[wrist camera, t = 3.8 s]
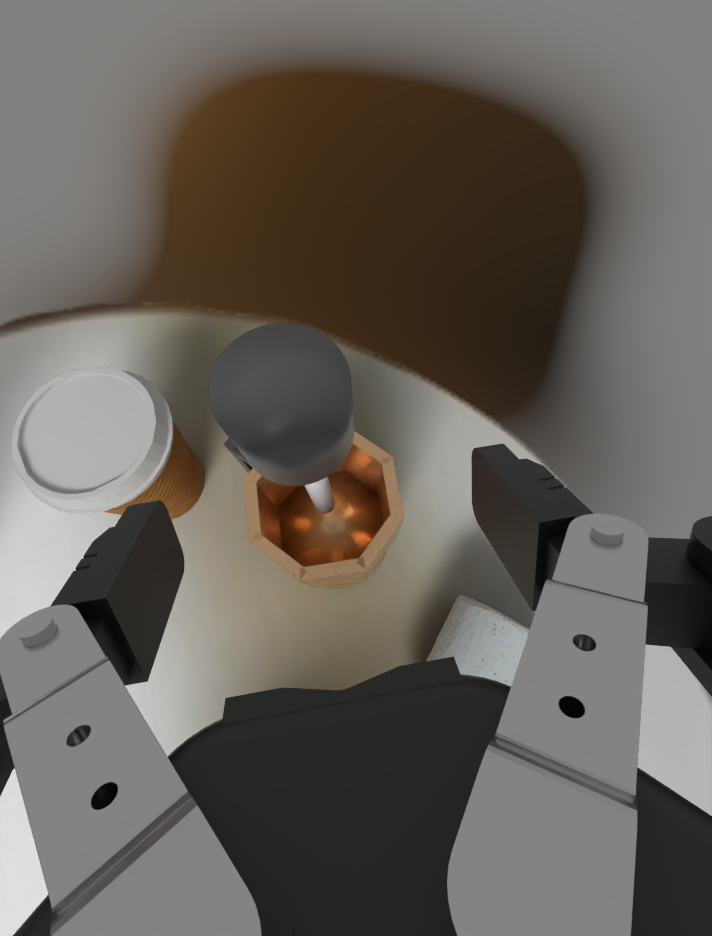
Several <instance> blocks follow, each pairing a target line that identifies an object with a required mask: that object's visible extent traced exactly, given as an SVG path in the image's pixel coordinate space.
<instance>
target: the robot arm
mask: <svg viewBox="0 0 712 936" xmlns="http://www.w3.org/2000/svg"><path fill="white" fill-rule="evenodd" d="M472 505H473V511H474V515H475V518H476V520H477V522H478V524H479V526H480V527H481V529H482V530H483V532H484V534H485V535H486V537H487V539H488V540H489V542H490V543H491V545H492V547H493V548H494V550H495V551H496V553H497V555H498V556H499V558H500V559H501V561H502V563H503V564H504V566H505V567H506V569H507V571H508V572H509V574H510V575H511V577H512V579H513V580H514V582H515V583H516V585H517V587H518V588H519V590H520V591H521V593H522V595H523V596H524V598H525V599H526V601H527V603H528V604H529V606H530V607H531V609H532V611H534V610H536V612H535V615H534V618H533V621H532V624H531V627H530V630H529V633H528V637H527V640H526V643H525V646H524V649H523V652H522V655H521V658H520V661H519V664H518V667H517V670H516V673H515V676H514V680H513V683H512V686H508V685H506V684H503V683H501V682H498V681H495V680H491V679H487V678H484V677H478V676H472V675H462V674H460V672H459V669H458V666H457V664H456V661H455V658H454V656H453V657H448V658H442V659H437V660H432V661H426V662H421V663H415V664H410V665H404V666H399V667H396V668H394V669H392V670H389V671H387V672H385V673H383V674H380V675H378V676H376V677H373V678H371V679H369V680H366V681H364V682H362V683H359V684H357V685H355V686H352V687H350V688H348V689H345V690H317V689H298V688H278V689H273V690H267V691H262V692H257V693H251V694H246V695H240V696H235V697H229V698H226V700H225V706H224V713H223V719H221V720H219V721H217V722H215V723H213V724H211V725H209V726H207V727H206V728H204V729H202V730H201V731H199V732H198V733H196V734H195V735H193V736H192V737H190V738H189V739H187V740H186V741H185V742H184V743H183V744H181V745H180V746H179V747H178V748H176V749H175V750H174V751H173V752H172V753H171V754H170V755H169V756H168V757H167V755H166V754H165V752H164V750H163V749H162V747H161V745H160V744H159V742H158V740H157V739H156V737H155V735H154V734H153V732H152V730H151V729H150V727H149V725H148V724H147V722H146V720H145V719H144V717H143V715H142V714H141V712H140V710H139V709H138V707H137V705H136V704H135V702H134V700H133V699H132V697H131V695H130V694H129V692H128V690H127V689H126V687H125V685H130V684H136V683H141V682H147V681H148V679H149V676H150V673H151V670H152V667H153V664H154V661H155V658H156V655H157V652H158V649H159V646H160V642H161V639H162V636H163V633H164V630H165V627H166V624H167V621H168V618H169V615H170V612H171V609H172V606H173V603H174V600H175V597H176V594H177V591H178V588H179V585H180V582H181V579H182V576H183V573H184V556H183V551H182V548H181V545H180V543H179V540H178V537H177V534H176V532H175V529H174V526H173V524H172V521H171V518H170V516H169V513H168V510H167V508H166V506H165V504H164V503H163V502H162V501H161V500H157V501H151V502H145V503H139V504H133V505H129V506H128V507H127V508H126V510H125V511H124V513H123V514H122V516H121V518H120V519H119V521H118V523H117V524H116V526H115V527H111V528H109V529H108V530H107V531H105V532H104V533H103V534H102V535H100V536H99V537H98V538H97V539H96V540H94V541H93V543H92V544H91V546H90V547H89V549H88V550H87V552H86V553H85V555H84V559H81V561H80V562H79V564H78V565H77V567H76V571H73V573H72V574H71V576H70V577H69V579H68V580H67V582H66V583H65V585H64V586H63V588H62V590H61V591H60V593H59V594H58V596H57V597H56V599H55V600H54V602H53V603H52V605H51V606H50V607H47V608H44V609H41V610H39V611H37V612H34V613H32V614H30V615H29V616H27V617H25V618H23V619H22V620H20V621H19V622H17V623H16V624H15V625H13V626H12V627H11V628H10V629H9V630H8V631H7V632H6V633H5V634H4V635H3V636H2V637H1V639H0V796H1V793H2V791H3V789H4V787H5V785H6V783H7V781H8V779H9V777H10V774H11V772H12V770H13V769H14V768H15V770H16V774H17V778H18V782H19V785H20V789H21V793H22V797H23V800H24V804H25V808H26V812H27V815H28V819H29V823H30V827H31V830H32V834H33V838H34V842H35V845H36V849H37V853H38V857H39V860H40V864H41V868H42V872H43V875H44V879H45V883H46V887H47V890H48V896H47V897H46V898H45V899H44V900H43V901H42V902H41V904H40V905H39V906H38V907H37V908H36V909H35V911H34V912H33V913H32V914H31V915H30V916H29V918H28V919H27V920H26V921H25V922H24V923H23V925H22V926H21V927H20V928H19V929H18V930H17V932H16V933H15V934H14V935H13V936H712V816H711V815H709V814H708V813H706V812H705V811H703V810H701V809H700V808H698V807H697V806H695V805H694V804H692V803H691V802H689V801H688V800H686V799H685V798H683V797H682V796H680V795H679V794H677V793H676V792H674V791H673V790H671V789H670V788H668V787H667V786H665V785H664V784H662V783H661V782H659V781H657V780H656V779H654V778H653V777H651V776H650V775H648V774H647V773H645V772H644V771H642V770H641V769H639V768H638V767H637V764H638V749H639V734H640V719H641V704H642V689H643V674H644V659H645V644H647V645H658V646H669V647H672V649H673V650H674V651H675V652H676V653H677V655H678V656H679V657H680V658H681V660H682V661H683V662H684V663H685V664H686V666H687V667H688V668H689V669H690V671H691V672H692V673H693V674H694V675H695V677H696V678H697V679H698V680H699V682H700V683H701V684H702V685H703V686H704V688H705V689H706V690H707V691H708V692H709V694H710V695H711V696H712V516H710V517H705V518H702V519H700V520H698V521H696V522H695V524H694V525H693V528H692V532H691V535H690V539H673V538H672V539H671V538H649V537H648V536H647V534H646V533H645V531H644V530H643V529H642V528H641V527H639V526H638V525H637V524H635V523H633V522H631V521H629V520H627V519H624V518H621V517H618V516H614V515H608V514H593V513H592V512H591V511H590V510H589V509H588V508H587V507H586V506H585V505H584V504H583V503H582V502H581V501H580V500H579V499H578V498H577V497H575V496H574V495H573V494H572V493H571V492H570V491H569V490H568V489H567V488H564V485H563V484H562V483H561V482H560V481H559V480H558V479H555V477H554V476H553V475H552V474H551V473H550V472H549V471H548V470H547V469H546V468H545V467H544V466H542V465H540V464H537V463H535V462H533V461H531V460H528V459H520V460H519V459H518V458H517V457H516V456H515V455H514V454H513V453H512V452H511V451H510V450H509V449H508V448H507V447H506V446H505V445H504V444H498V445H491V446H485V447H479V448H474V449H473V452H472Z"/></svg>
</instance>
